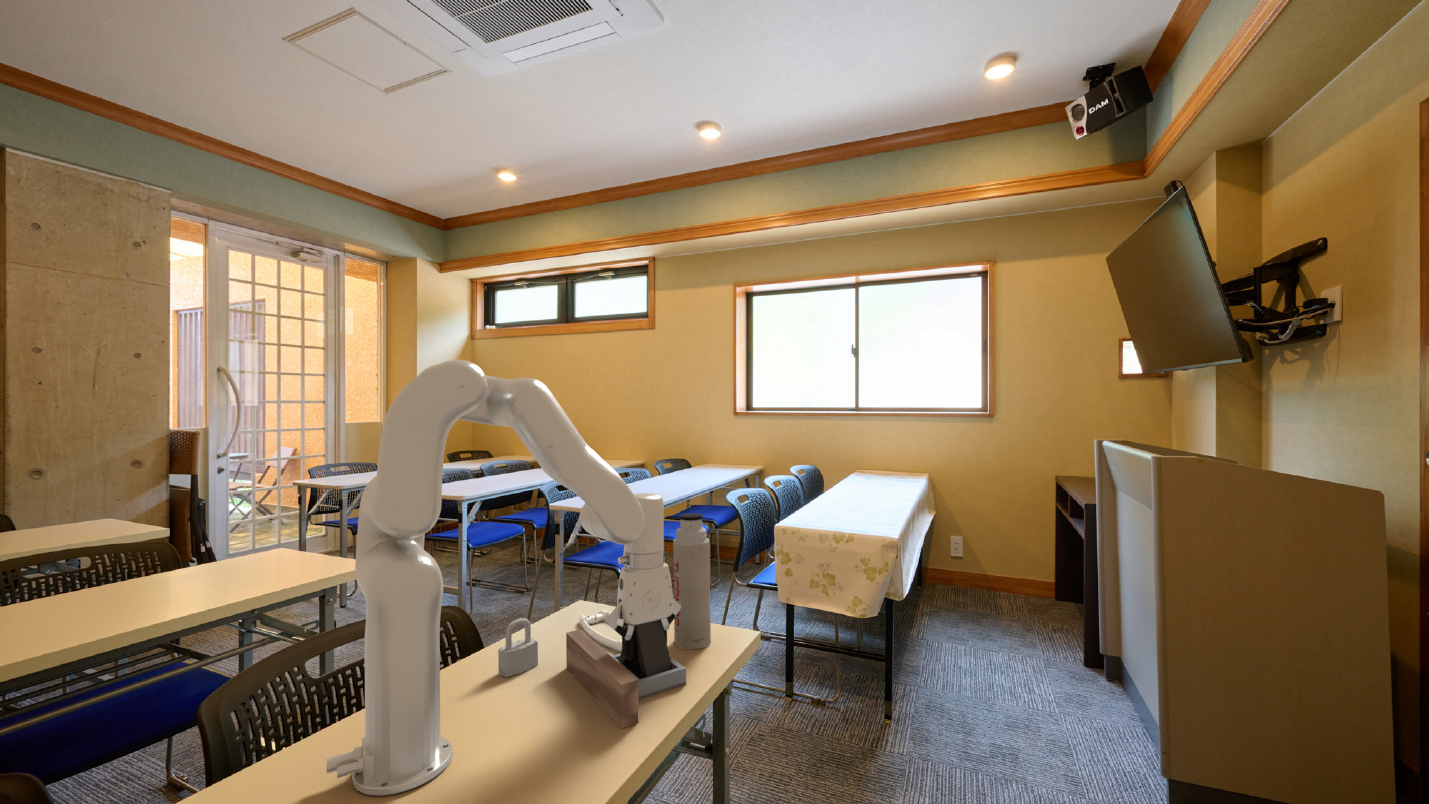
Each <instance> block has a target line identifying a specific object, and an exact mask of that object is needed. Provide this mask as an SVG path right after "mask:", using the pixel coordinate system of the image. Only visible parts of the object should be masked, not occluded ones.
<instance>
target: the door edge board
mask: <svg viewBox="0 0 1429 804" xmlns="http://www.w3.org/2000/svg"><path fill="white" fill-rule="evenodd" d="M565 634H566V636H565V638H566V639H565V645H566V648H565V649H566V650H565V652H566V653H565V654H566V655H565V656H566V662H565V663H566V669H567V670H568V671H569V673H571V675H572V676H573V677H574V678H575V679H576V680H577V681H578V682H579V684H580V685H582V686H583V688H584V689H585V690H586V691H587V692H588V693H589V694H590V695H591V696H592V698H593V699H594V700H595V701H596V702H597V703H598V704H599V706H600V707H601V708H602V709H603V710H604V711H605V712H606V713H607V714H608V715H609V717H610V718H612V720H613V721H614V722H615V723H616V724H617V725H618V726H619V727H620V729H624V728H627V727H630V726H633V725H635V724H638V723H639V700H638V679H637V678H635V677H634V676H633V675H632V674H631V673H630V672H629V671H628V670H626V669H625V668H624V667H623V666H622V665H621V664H620V663H618V662H617V661H616V660H615V659H614V658H613V657H612V656H613V655H612V654H609V652H607V651H606V650H605V649H604V648H603V647H601V646H600V644H598V642H597V641H596V640H594V639H593V638H592V637H590V636H589V635H588V634H587V633H586V632H585V631H584V630H582V628H579V629H576V630H572V631H567V632H566V633H565Z"/></svg>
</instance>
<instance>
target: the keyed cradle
mask: <svg viewBox="0 0 1429 804" xmlns="http://www.w3.org/2000/svg"><path fill="white" fill-rule="evenodd" d="M620 655H621V653H620V652H619V653H617V654H613V655H611V656H612V657H613V658H614V659H615V660H616V661H617V662H618V663H620V662H619V659H620ZM670 660H671V665H672V670H669V671H666V672H663V673H659V674H656V675H653V676H650V677H646V678H643V679H641V678H639V677H637V676H635V675H634V674H633V673H632V672H631V671H630V670H628V669H627V668H626V667H625V666H624V665H623V664H622V663H620V664H621V665H622V666H623V667H624V668H625V669H626V670H628V671H629V672H630V673H631V674H632V675H633V676H634V677H635V678H637V679H638V701H639V700H644V699H647V698H648V697H649V698H650V697H652V696H654V695H658V694H661V693H664V692H667V691H669V690H670V691H671V690H673V689H677V688H679V687H682V686H685V685H687V668H686V667H685V666H684V665H682V664H681V663H679V662H678V661H677V660H675V659H674V657H673V658H672V657H671V656H670Z"/></svg>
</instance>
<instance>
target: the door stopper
mask: <svg viewBox="0 0 1429 804" xmlns="http://www.w3.org/2000/svg"><path fill="white" fill-rule="evenodd" d="M627 626H628V625H627ZM631 638H632V639H634V660H633V661H629V660H628V659H627V658H626V657H625V656H624V655H623V654H622V650H621V655H620V659H619V662H620V663H622V664H623V665H624V666H625V667H626V668H627V669H628V670H630V671H631V672H632V673H633V674H634V675H635V676H637V677H639V678H641V679H643V678H646V677H650V676H653V675H656V674H659V673H663V672H666V671H669V670H672V665H671V660H670V657H671V655H670V652H669V648H668V641H667V642H666V638H665V633H664V629H663V625H662V623H661V621H660V620H657V621H653V622H649V623H645V624H640V625H636V626H635V627H634V630H633V633H632V636H631Z"/></svg>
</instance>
